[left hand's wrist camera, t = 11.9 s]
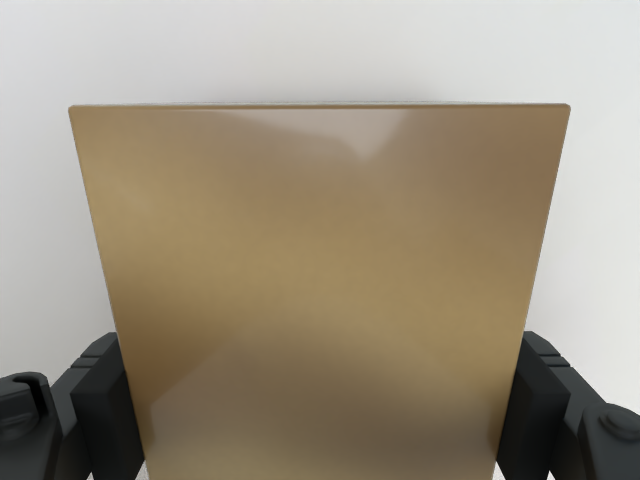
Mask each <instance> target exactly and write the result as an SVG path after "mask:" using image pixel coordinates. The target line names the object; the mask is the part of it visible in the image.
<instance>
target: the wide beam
mask: <svg viewBox="0 0 640 480" xmlns="http://www.w3.org/2000/svg"><path fill="white" fill-rule="evenodd" d="M570 110H571V108H570V106H569V105H568V104H566V103H506V102H190V103H144V104H98V105H72V106H70V107H69V108H68V113H69V118H70V122H71V127H72V131H73V136H74V140H75V145H76V149H77V154H78V159H79V163H80V168H81V172H82V177H83V181H84V186H85V190H86V195H87V200H88V204H89V209H90V213H91V218H92V222H93V227H94V231H95V236H96V241H97V245H98V250H99V254H100V259H101V263H102V268H103V272H104V277H105V282H106V286H107V291H108V295H109V300H110V304H111V309H112V313H113V318H114V323H115V327H116V332H117V336H118V341H119V345H120V350H121V354H122V359H123V364H124V368H125V373H126V377H127V382H128V386H129V391H130V395H131V400H132V405H133V409H134V414H135V418H136V423H137V427H138V432H139V436H140V441H141V446H142V450H143V455H144V459H145V464H146V468H147V473H148V477H149V480H492V478H493V473H494V469H495V464H496V459H497V454H498V450H499V445H500V440H501V436H502V431H503V426H504V421H505V417H506V412H507V407H508V403H509V398H510V393H511V388H512V384H513V379H514V374H515V370H516V365H517V360H518V355H519V351H520V346H521V341H522V337H523V332H524V327H525V322H526V318H527V313H528V308H529V304H530V299H531V294H532V289H533V285H534V280H535V275H536V271H537V266H538V261H539V256H540V252H541V247H542V242H543V238H544V233H545V228H546V223H547V219H548V214H549V209H550V205H551V200H552V195H553V190H554V186H555V181H556V176H557V172H558V167H559V162H560V157H561V153H562V148H563V143H564V139H565V134H566V129H567V124H568V120H569V115H570Z"/></svg>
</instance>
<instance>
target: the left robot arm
mask: <svg viewBox="0 0 640 480" xmlns="http://www.w3.org/2000/svg"><path fill="white" fill-rule="evenodd" d="M80 356H81V357H80V358H78V359H77V360H76V361H75V362H74V363H73V364H72V365H71V368H68V369H67V370H66V371H65V373H64V374H63V375H62V376H61V377H60V378H59V379H58V380H57V381H56V382H55V383H54V384H53V385H52V386H51V387H49V384H48V380H47V377H46V376H44V375H43V374H41V373H37V372H23V373H16V374H13V375H10V376H7V377H3V378H0V480H86V479H87V478H88V476H89V475H90V473H91V471H92V475H93V478H94V480H135V479H136V477H137V475H138V472H139V470H140V468H141V466H142V464H143V462H144V460H145V459H144V455H143V450H142V446H141V441H140V436H139V432H138V427H137V423H136V418H135V414H134V409H133V405H132V400H131V395H130V391H129V386H128V382H127V377H126V373H125V368H124V364H123V359H122V354H121V350H120V345H119V341H118V336H117V332H109V333H107V334H106V335H104V336H103V337H101V338H99V339H98V340H96V341H95V342H93V343H92V344H91V345H90V346H89V347H88V348H87V349H86V350H85V351H84V352H83V353H82V354H81V355H80ZM496 461H497V463H498V465H499V467H500V469H501V471H502V473H503V476H504V478H505V480H547V477H548V473H549V470H550V472H551V473H552V475H553V477H554V478H555V480H640V415H638V414H636V413H634V412H633V411H631V410H629V409H626V408H623V407H621V406H618V405H615V404H610V403H606V402H605V401H604V400H603V399H602V398H601V397H600V396H599V395H598V394H597V392H596V391H595V390H594V389H593V388H592V387H591V386H590V385H589V384H588V383H587V382H586V381H585V380H584V379H583V378H582V377H581V375H580V374H579V373H578V372H577V371H576V370H575V369H574V368H573V367H570V364H569V363H568V362H567V361H566V360H565V358H564V357H561V355H560V353H559V352H558V351H557V350H556V349H555V348H554V347H553V346H552V345H551V344H550V343H549V342H548V341H547V340H545V339H543V338H542V337H540V336H539V335H537V334H535V333H534V332H532V331H524V332H523V337H522V341H521V346H520V351H519V355H518V360H517V365H516V370H515V374H514V379H513V384H512V388H511V393H510V398H509V403H508V407H507V412H506V417H505V421H504V426H503V431H502V436H501V440H500V445H499V450H498V454H497V459H496Z"/></svg>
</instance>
